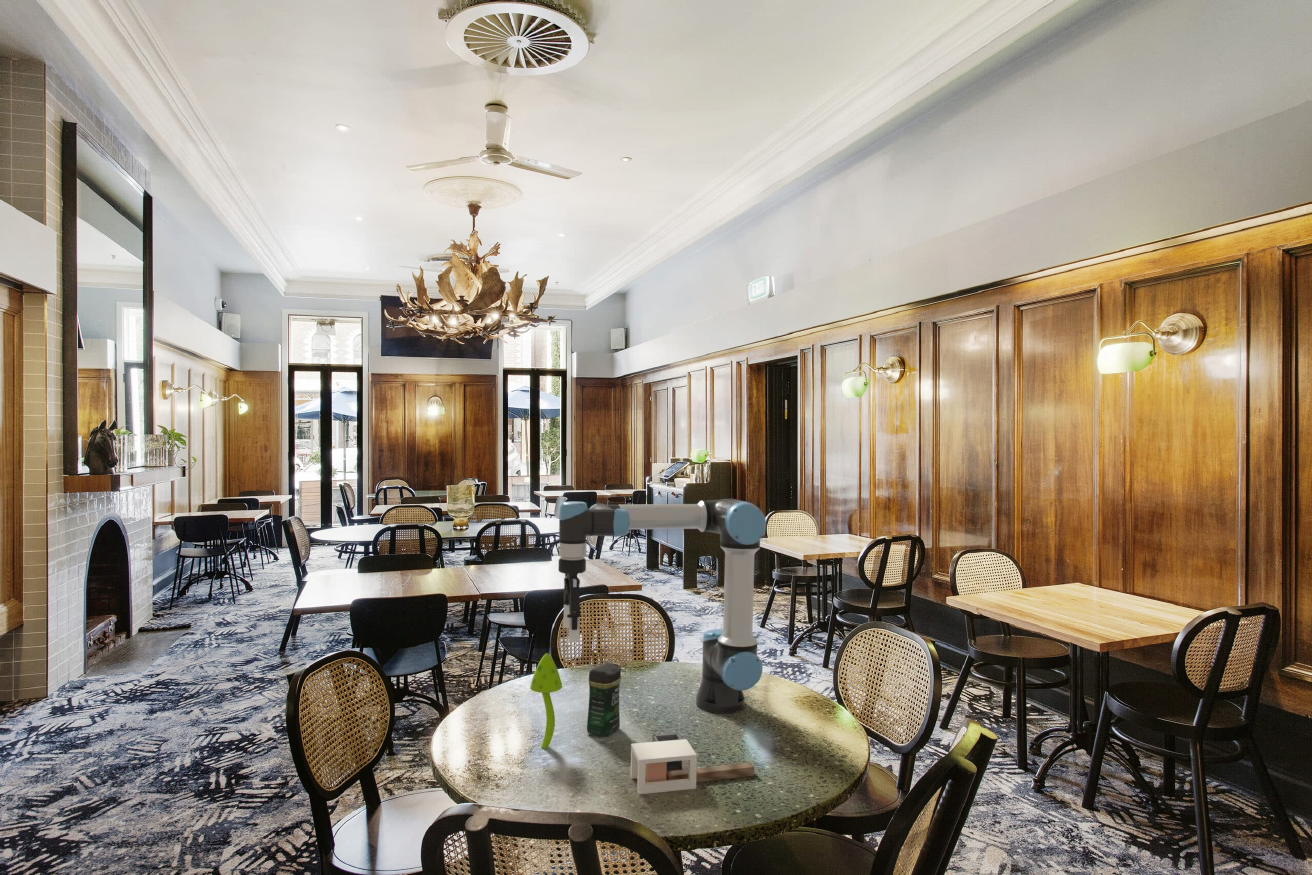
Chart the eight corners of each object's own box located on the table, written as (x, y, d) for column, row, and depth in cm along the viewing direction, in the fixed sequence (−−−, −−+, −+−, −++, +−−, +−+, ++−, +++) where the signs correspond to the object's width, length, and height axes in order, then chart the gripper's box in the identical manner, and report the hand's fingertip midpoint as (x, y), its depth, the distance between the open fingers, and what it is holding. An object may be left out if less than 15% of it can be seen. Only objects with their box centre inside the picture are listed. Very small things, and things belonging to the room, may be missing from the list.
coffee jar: (607, 740, 193) (608, 672, 193) (582, 734, 196) (583, 667, 196) (624, 727, 202) (625, 662, 202) (600, 722, 205) (601, 658, 205)
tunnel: (679, 760, 182) (679, 729, 182) (696, 788, 167) (696, 754, 167) (625, 764, 179) (626, 733, 179) (638, 794, 164) (639, 759, 164)
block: (661, 778, 172) (661, 753, 172) (666, 787, 168) (666, 761, 168) (643, 779, 171) (643, 755, 171) (647, 788, 167) (648, 763, 167)
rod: (750, 772, 177) (750, 762, 177) (754, 776, 175) (754, 766, 175) (665, 781, 171) (665, 771, 171) (668, 786, 169) (668, 776, 169)
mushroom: (532, 739, 192) (534, 647, 192) (563, 740, 192) (565, 648, 192) (525, 753, 184) (527, 657, 184) (557, 754, 184) (559, 658, 184)
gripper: (554, 550, 208) (553, 622, 207) (563, 566, 183) (561, 647, 183) (580, 550, 209) (579, 621, 209) (592, 565, 185) (590, 646, 185)
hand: (570, 634), depth 196 cm, fingers open, 13 cm apart
